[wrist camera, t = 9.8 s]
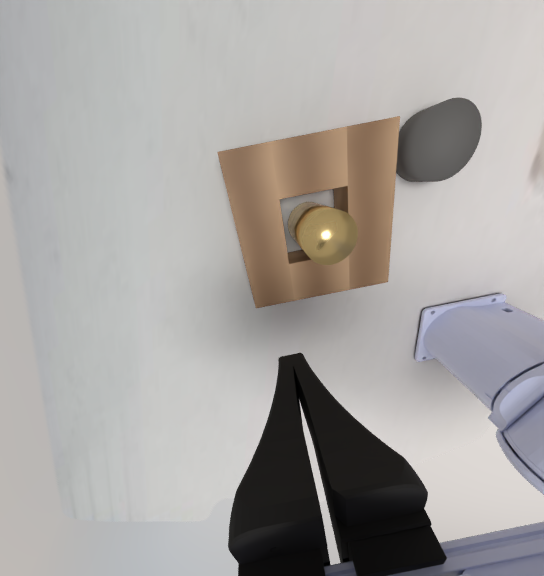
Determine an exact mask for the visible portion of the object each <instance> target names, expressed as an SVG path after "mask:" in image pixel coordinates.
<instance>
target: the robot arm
mask: <svg viewBox="0 0 544 576" xmlns="http://www.w3.org/2000/svg"><path fill="white" fill-rule="evenodd" d="M505 300H506V295H505V294H502V293H500V294H495V295H490V296H485V297H480V298H475V299H470V300H465V301H460V302H455V303H450V304H445V305H440V306H435V307H430V308H426V309H424V310H423V311H422V316H421V322H420V328H419V334H418V341H417V347H416V353H415V360H416V361H418V362H420V361H425V360H430V359H435V358H436V359H437V360H438V361H439V362H440V363H441V364H442V365H443V366H444V367H445V368H446V369H447V370H448V371H450V372H451V373H452V374H453V375H454V376H455V377H456V378H457V379H458V380H459V381H460V382H461V383H462V384H463V385H464V386H465V387H466V388H468V389H469V390H470V391H471V392H472V393H473V394H474V395H475V396H476V397H477V398H478V399H479V400H480V401H481V402H482V403H483V404H484V405H486V406H487V407H488V408H489V409H490V410H491V411H492V413H491V415H490V416H489V417H488V419H489V420H491V421H492V422H493V423H494V424H495V425H496V426H497V427H498V428H499V429H497V432H496V437H497V440H498V443H499V445H500V447H501V448H502V451H503V452H504V454H505V456H506V457H507V459H508V460H509V461H510V463H511V464H512V465H513V466H514V467H515V468H516V470H517V471H518V472H519V473H520V474H521V475H522V476H523V477H524V478H525V479H526V480H527V481H528V482H529V483H530V484H532V485H533V486H534V487H535V488H536V489H537V490H539V491H540V492H541V493H542V494H543V495H544V320H542V319H539V318H537V317H535V316H533V315H531V314H529V313H527V312H525V311H522V310H520V309H518V308H516V307H514V306H512V305H510V304H507V303H505ZM299 400H300V403H301V406H302V409H303V412H304V415H305V419H306V422H307V425H308V428H309V431H310V434H311V438H312V441H313V445H314V449H315V453H316V457H317V461H318V466H319V470H320V474H321V479H322V483H323V487H324V492H325V496H326V500H327V505H328V508H329V513H330V518H331V522H332V527H333V531H334V535H335V540H336V544H337V549H338V553H339V558H340V562H341V563H340V564H335V565H330V560H329V554H328V549H327V542H326V536H325V531H324V525H323V519H322V514H321V510H320V505H319V500H318V495H317V491H316V486H315V482H314V477H313V473H312V468H311V464H310V459H309V455H308V450H307V446H306V441H305V437H304V432H303V426H302V418H301V410H300V403H299ZM427 496H428V492H427V490H426V488H425V486H424V484H423V483H422V481H421V480H420V478H419V477H418V475H417V474H416V472H415V471H414V470H413V468H412V467H411V466H410V464H409V463H408V462H407V461H406V459H405V458H404V457H402V456H401V455H400V454H398V453H397V452H396V451H394V450H393V449H391V448H390V447H389V446H387V445H386V444H385V443H383V442H382V441H381V440H380V439H378V438H377V437H376V436H375V435H373V434H372V433H371V432H370V431H369V430H368V429H366V428H365V427H364V426H363V425H362V424H361V423H360V422H358V421H357V420H356V419H355V418H354V417H353V416H352V415H351V414H350V413H349V412H348V411H347V410H346V409H344V407H343V406H342V405H341V404H340V403H339V402H338V401H337V400H336V399H335V398H334V397H333V396H332V395H331V394H330V392H329V391H328V390H327V389H326V388H325V386H324V385H323V384H322V383H321V381H320V380H319V379H318V377H317V376H316V375H315V373H314V372H313V371H312V369H311V368H310V366H309V365H308V363H307V361H306V359H305V358H304V356H303V354H302V353H297V354H292V355H287V356H282V357H280V358H279V369H278V378H277V384H276V390H275V394H274V398H273V403H272V407H271V410H270V414H269V417H268V420H267V423H266V426H265V429H264V431H263V434H262V437H261V440H260V442H259V445H258V447H257V449H256V451H255V454H254V456H253V458H252V461H251V463H250V465H249V467H248V469H247V471H246V473H245V475H244V477H243V479H242V481H241V483H240V485H239V487H238V489H237V491H236V494H235V498H234V503H233V507H232V512H231V518H230V526H229V543H228V547H229V551H230V552H231V554H232V555H233V556H234V558H235V559H236V560H237V562H238V563H239V568H238V570H239V571H238V576H544V522H540V523H535V524H530V525H525V526H520V527H515V528H511V529H506V530H501V531H496V532H491V533H487V534H482V535H477V536H471V537H466V538H462V539H457V540H452V541H447V542H442V543H439V542H438V540H437V538H436V536H435V534H434V532H433V530H432V528H431V521H430V519H429V517H428V515H427V513H426V511H425V510H424V507H425V504H426V501H427Z"/></svg>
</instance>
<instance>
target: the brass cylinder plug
mask: <svg viewBox="0 0 544 576" xmlns="http://www.w3.org/2000/svg"><path fill="white" fill-rule="evenodd" d="M288 229H289V232H290V234H291V236H292V237H293V238H294V240H295V241H296V242H297V243H298V244H299V246H300V247H301V248H302V249H303V251H304V252H305V253H306V254H307V255H308V257H309V258H310V259H311V260H313V261H314V262H316V263H318V264H321V265H333V264H336V263H339V262H341V261H342V260H344V259H345V258H346V257H347V256H349V254H350V253H351V252H352V251H353V249H354V247H355V245H356V242H357V238H358V229H357V225H356V222H355V221H354V219H353V218H352V217H351V216H350V215H349V214H348V213H346V212H344V211H341V210H338V209H335V208H331V207H328V206H324V205H321V204H317V203H314V202H305V203H302V204H300V205H298V206H297V207H296V208H295V209H294V210H293V211H292V212H291V214H290V216H289V220H288Z"/></svg>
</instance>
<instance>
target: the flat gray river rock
mask: <svg viewBox="0 0 544 576" xmlns="http://www.w3.org/2000/svg"><path fill="white" fill-rule="evenodd" d="M481 126H482V123H481V116H480V113H479V110H478V109H477V107H476V106H475V104H474V103H472V102H471V101H470V100H467V99H464V98H452V99H449V100H446V101H444V102H441V103H439V104H437V105H434V106H432V107H429V108H427V109H425V110H422V111H420V112H418V113H416V114H415V115H413V116H412V117H411V118H410V119H409V120H408V121H407V122H406V123H405V124H404V125H403V127H402V128H401V130H400V131H399V137H398V151H397V164H396V172H397V173H398V175H399V176H400V177H402V178H403V179H405V180H407V181H411V182H435V181H442V180H445V179H448V178H450V177H452V176H453V175H455V174H456V173H458V172H459V171H460V170H461V169H462V168H463V167H464V166H465V165H466V164H467V163H468V161H469V160H470V158H471V157H472V155H473V154H474V152H475V150H476V148H477V145H478V142H479V139H480V135H481Z"/></svg>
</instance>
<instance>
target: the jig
mask: <svg viewBox="0 0 544 576" xmlns="http://www.w3.org/2000/svg"><path fill="white" fill-rule="evenodd" d="M399 123H400V116H398V117H393V118H388V119H383V120H378V121H373V122H368V123H363V124H358V125H353V126H347V127H342V128H337V129H332V130H327V131H322V132H317V133H312V134H307V135H302V136H297V137H292V138H287V139H281V140H276V141H271V142H266V143H261V144H256V145H251V146H246V147H241V148H236V149H231V150H226V151H221V152H218V156H219V160H220V165H221V169H222V173H223V177H224V181H225V185H226V189H227V193H228V197H229V201H230V205H231V209H232V213H233V217H234V221H235V225H236V229H237V233H238V237H239V242H240V246H241V250H242V254H243V258H244V262H245V266H246V270H247V274H248V278H249V282H250V286H251V290H252V294H253V298H254V302H255V306H256V308H260V307H265V306H270V305H275V304H280V303H285V302H290V301H295V300H300V299H305V298H310V297H315V296H320V295H325V294H330V293H335V292H340V291H345V290H350V289H355V288H360V287H365V286H370V285H375V284H380V283H385V282H388V275H389V261H390V247H391V233H392V220H393V206H394V192H395V178H396V164H397V151H398V137H399ZM329 189H334V208H335V209H338V210H341V211H344V212H346V213H348V214H349V215H350V216H351V217H352V218H353V219H354V221H355V222H356V225H357V229H358V238H357V242H356V245H355V247H354V249H353V251H352V252H351V253H350V254H349V256H347V257H346V258H345V259H344V260H342V261H341V262H339V263H336V264H333V265H321V264H318V263H316V262H314V261H313V260H311V259H310V258H309V257H308V255H307V254H306V253H305V252H304V251H303V250H299V251H294V252H289V253H287V247H286V240H285V233H284V227H283V220H282V213H281V207H280V200H279V199H283V198H289V197H294V196H299V195H304V194H309V193H314V192H319V191H324V190H329Z"/></svg>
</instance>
